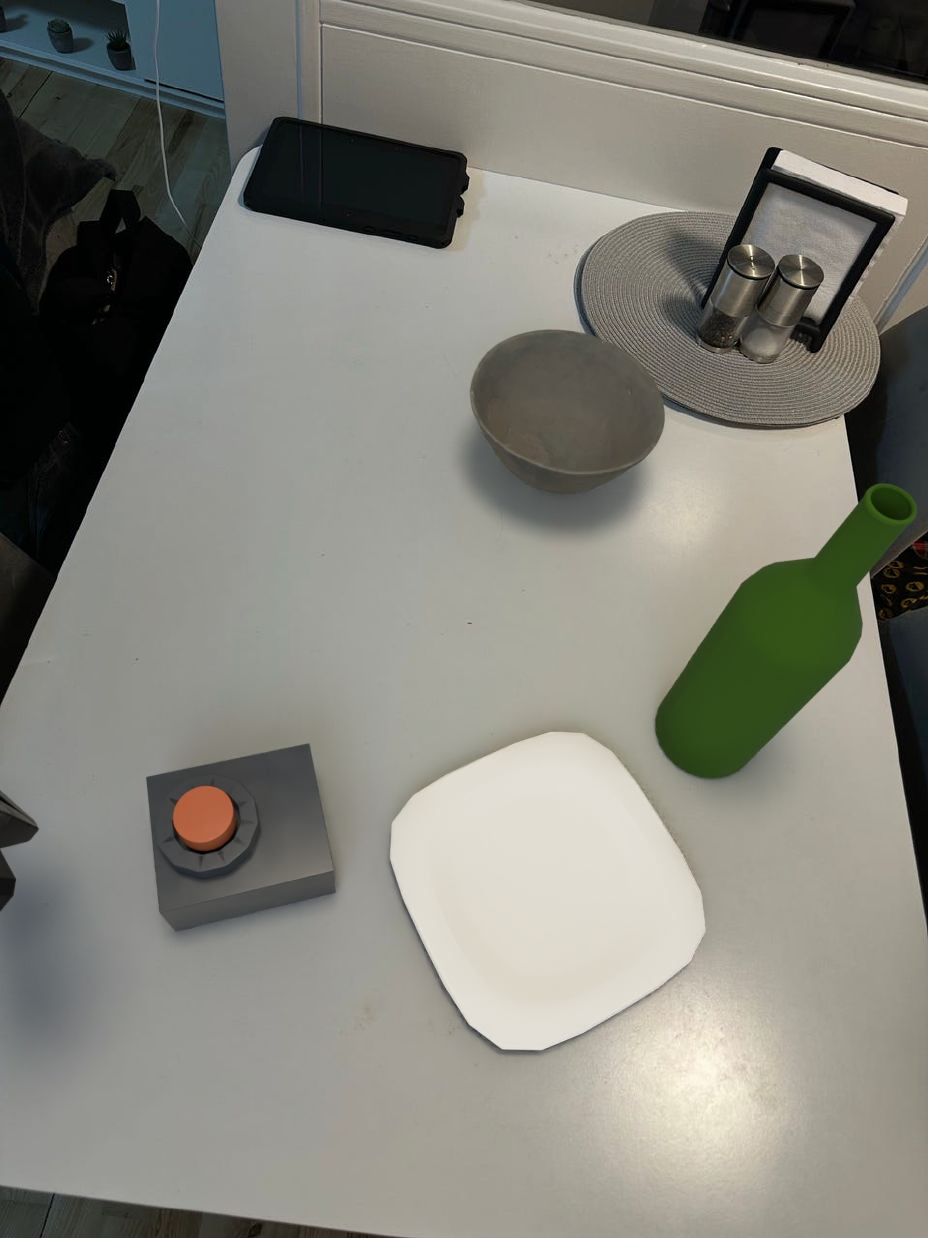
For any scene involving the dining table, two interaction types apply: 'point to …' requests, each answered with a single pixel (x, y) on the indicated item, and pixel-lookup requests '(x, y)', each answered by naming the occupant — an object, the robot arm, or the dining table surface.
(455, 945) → the plate
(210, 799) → the button
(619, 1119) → the dining table surface
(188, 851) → the control block
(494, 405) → the bowl
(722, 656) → the wine bottle
